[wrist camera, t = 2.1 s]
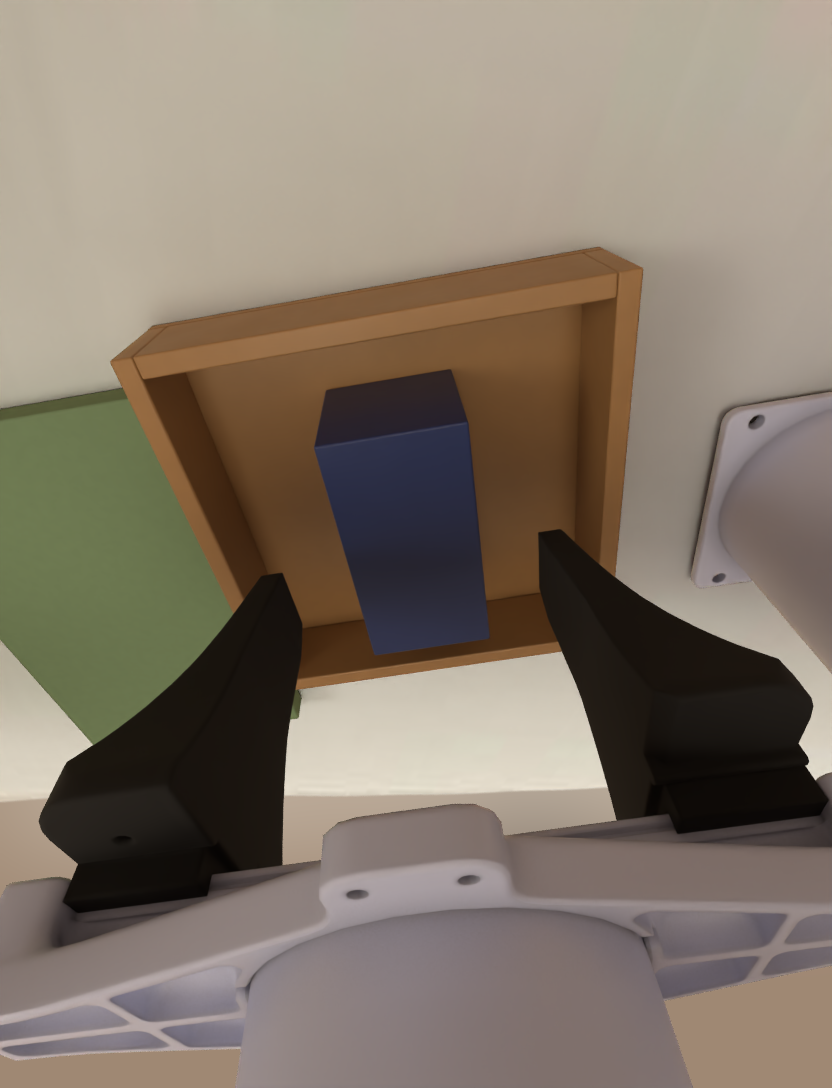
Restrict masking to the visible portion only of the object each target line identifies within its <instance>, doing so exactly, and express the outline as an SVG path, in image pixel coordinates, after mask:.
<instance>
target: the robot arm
mask: <svg viewBox="0 0 832 1088" xmlns="http://www.w3.org/2000/svg"><path fill="white" fill-rule="evenodd" d="M757 415H758V418H757V419H756V421H754V422H753V423H752V424H749V422H750V420H751V419H752V418H753V417H754V416H757ZM538 549H539V589H540V592H541V596H542V600H543V603H544V607H545V610H546V613H547V617H548V620H549V622H550V625H551V627H552V629H553V632H554V634H555V636H556V639H557V641H558V643H559V646H560V648H561V650H562V653H563V655H564V657H565V660H566V662H567V664H568V666H569V669H570V671H571V673H572V676H573V678H574V680H575V683H576V685H577V688H578V690H579V693H580V696H581V698H582V702H583V705H584V708H585V711H586V714H587V718H588V721H589V724H590V727H591V731H592V734H593V737H594V741H595V744H596V747H597V751H598V754H599V758H600V761H601V765H602V768H603V772H604V775H605V779H606V782H607V786H608V790H609V793H610V797H611V800H612V804H613V808H614V812H615V815H616V819H617V821H611V822H604V823H596V824H588V825H581V826H574V827H566V828H558V829H551V830H543V831H536V832H528V833H521V834H514V835H503V829H502V824H501V821H500V820H499V818H498V817H497V816H496V814H495V813H494V812H493V811H491V810H490V809H487V808H484V807H481V806H478V805H475V804H450V805H442V806H435V807H428V808H421V809H413V810H406V811H398V812H391V813H384V814H377V815H370V816H362V817H356V818H352V819H349V820H346V821H342V822H338V823H337V824H336V825H335V826H334V827H332V828H331V829H330V830H329V831H328V832H326V834H324V835H323V845H322V858H321V859H322V860H319V861H312V862H304V863H296V864H289V865H282V840H283V800H284V781H285V763H286V749H287V737H288V730H289V723H290V718H291V712H292V706H293V701H294V695H295V690H296V684H297V679H298V673H299V667H300V661H301V653H302V627H303V624H302V621H301V619H300V616H299V613H298V611H297V608H296V606H295V603H294V601H293V598H292V596H291V593H290V590H289V588H288V585H287V583H286V580H285V578H284V575H283V573H276V574H269V575H263V576H261V577H260V578H259V580H258V581H257V582H256V584H255V585H254V586H253V588H252V589H251V590H250V592H249V593H248V595H247V596H246V597H245V599H244V600H243V601H242V603H241V604H240V606H239V607H238V608H237V610H236V611H235V612H234V614H233V615H232V616H231V618H230V619H229V620H228V622H227V623H226V624H225V626H224V627H223V628H222V630H221V631H220V632H219V633H218V634H217V636H216V637H215V638H214V639H213V640H212V641H211V643H210V644H209V645H208V646H207V647H206V649H205V650H204V651H203V652H202V653H201V654H200V656H199V657H198V658H197V659H196V660H195V661H194V662H193V663H192V664H191V665H190V666H189V667H188V668H187V669H186V670H185V671H184V672H183V673H182V674H181V675H180V676H179V677H178V678H177V679H176V680H175V681H174V682H173V683H172V684H171V685H170V686H169V687H168V688H166V689H165V690H164V691H163V692H162V693H161V694H160V695H158V696H157V697H156V698H155V699H154V700H153V701H152V702H150V703H149V704H148V705H147V706H146V707H145V708H143V709H142V710H141V711H140V712H138V713H137V714H136V715H135V716H133V717H132V718H131V719H129V720H128V721H127V722H125V723H124V724H123V725H121V726H120V727H119V728H117V729H116V730H115V731H113V732H112V733H110V734H109V735H108V736H106V737H105V738H103V739H102V740H100V741H99V742H97V743H96V744H94V745H93V746H91V747H90V748H88V749H87V750H85V751H83V752H82V753H80V754H79V755H77V756H76V757H74V758H73V759H71V760H69V761H68V762H67V763H66V765H65V766H64V768H63V770H62V772H61V774H60V776H59V778H58V780H57V782H56V784H55V786H54V788H53V790H52V792H51V794H50V796H49V798H48V800H47V802H46V804H45V806H44V808H43V810H42V812H41V815H40V818H39V824H40V827H41V830H42V832H43V833H44V834H45V835H46V837H47V838H48V839H49V840H50V841H52V842H53V843H54V844H55V845H56V846H57V847H58V848H60V849H61V850H62V851H63V852H64V853H66V854H67V855H68V856H69V857H71V858H72V859H73V860H74V861H75V862H76V863H78V866H77V868H76V871H75V873H74V875H73V878H72V880H70V879H67V878H62V877H51V878H43V879H36V880H29V881H21V882H14V883H10V884H9V885H7V886H6V888H5V890H4V892H3V894H2V896H1V898H0V1055H2V1056H5V1057H8V1058H10V1059H13V1060H17V1061H18V1060H27V1059H37V1058H47V1057H56V1056H68V1055H81V1054H94V1053H95V1054H96V1053H115V1052H137V1051H138V1052H139V1051H140V1052H141V1051H176V1050H208V1049H209V1050H212V1049H241V1052H240V1059H239V1066H238V1073H237V1079H236V1086H235V1088H693V1086H692V1083H691V1080H690V1077H689V1074H688V1072H687V1069H686V1066H685V1062H684V1060H683V1057H682V1054H681V1051H680V1048H679V1045H678V1042H677V1039H676V1036H675V1033H674V1030H673V1027H672V1024H671V1021H670V1018H669V1015H668V1012H667V1009H666V1006H665V1003H664V1001H666V1000H670V999H675V998H680V997H685V996H690V995H694V994H699V993H703V992H708V991H713V990H718V989H722V988H727V987H731V986H737V985H741V984H746V983H750V982H755V981H760V980H764V979H769V978H774V977H778V976H783V975H788V974H792V973H797V972H802V971H807V970H812V969H817V968H822V967H827V966H832V772H831V773H827V774H825V775H823V776H821V777H819V778H817V779H816V780H815V779H814V778H813V776H812V775H811V774H810V772H809V771H808V769H807V768H806V766H805V765H808V763H809V759H808V756H807V755H806V754H805V752H804V751H803V749H802V748H801V746H800V745H799V744H798V743H799V741H800V739H801V737H802V735H803V733H804V731H805V728H806V726H807V724H808V722H809V720H810V717H811V714H812V710H813V703H812V699H811V697H810V695H809V694H808V693H807V692H806V690H805V689H804V688H803V686H802V685H801V684H800V682H799V681H798V680H797V679H796V677H795V676H794V675H793V674H792V673H791V672H790V671H789V670H788V669H787V668H786V666H785V665H784V664H783V663H782V662H781V661H780V660H779V659H777V658H774V657H771V656H768V655H765V654H762V653H760V652H757V651H754V650H751V649H748V648H745V647H742V646H739V645H737V644H734V643H732V642H729V641H727V640H724V639H722V638H719V637H717V636H715V635H712V634H710V633H708V632H706V631H703V630H701V629H699V628H697V627H695V626H693V625H691V624H689V623H687V622H685V621H683V620H681V619H679V618H677V617H675V616H673V615H671V614H670V613H668V612H666V611H664V610H663V609H661V608H659V607H658V606H656V605H654V604H653V603H651V602H649V601H648V600H646V599H645V598H643V597H641V596H640V595H639V594H637V593H636V592H634V591H633V590H631V589H630V588H629V587H627V586H626V585H625V584H623V583H622V582H621V581H619V580H618V579H617V578H616V577H614V576H613V575H612V574H611V573H609V572H608V571H607V570H606V569H605V568H603V567H602V566H601V565H600V564H599V563H597V562H596V561H595V560H594V559H593V558H592V557H590V556H589V555H588V554H587V553H586V552H585V551H584V550H583V549H582V548H581V547H580V546H578V545H577V544H576V543H575V542H574V541H573V540H572V539H571V538H570V537H569V536H568V535H567V534H566V533H565V532H564V531H562V530H561V529H556V530H550V531H544V532H538ZM716 574H718V575H717V576H715V575H716ZM691 581H692V582H693V583H694V585H695V586H696V587H698V588H708V587H715V586H721V585H728V584H735V583H742V582H748V581H753V582H754V583H755V584H756V586H757V587H758V588H759V589H760V590H761V591H762V593H763V594H764V595H765V596H766V597H767V598H768V600H769V601H770V602H771V603H772V604H773V605H774V607H775V608H776V609H777V610H778V611H779V613H780V614H781V615H782V616H783V617H784V618H785V620H786V621H787V622H788V623H789V624H790V625H791V627H792V628H793V629H794V630H795V631H796V632H797V634H798V635H799V636H800V637H801V638H802V640H803V641H804V642H805V643H806V644H807V645H808V647H809V648H810V649H811V650H812V651H813V652H814V654H815V655H816V656H817V657H818V658H819V659H820V661H821V662H822V663H823V664H824V665H825V667H826V668H827V669H828V670H829V671H830V672H831V674H832V392H827V393H821V394H814V395H808V396H802V397H796V398H790V399H784V400H777V401H771V402H765V403H759V404H753V405H747V406H741V407H737V408H734V409H732V410H731V411H729V412H728V413H727V414H726V415H725V416H724V418H723V420H722V423H721V428H720V433H719V438H718V443H717V448H716V453H715V458H714V463H713V468H712V473H711V477H710V482H709V487H708V492H707V497H706V502H705V507H704V512H703V517H702V522H701V527H700V532H699V537H698V542H697V547H696V552H695V557H694V562H693V567H692V572H691Z"/></svg>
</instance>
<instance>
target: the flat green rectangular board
mask: <svg viewBox="0 0 832 1088" xmlns="http://www.w3.org/2000/svg"><path fill="white" fill-rule="evenodd" d="M232 615H233V612H232V610H231V608H230V606H229V604H228V602H227V600H226V597H225V595H224V593H223V591H222V589H221V587H220V585H219V583H218V581H217V579H216V577H215V575H214V573H213V571H212V569H211V567H210V565H209V563H208V561H207V559H206V557H205V555H204V553H203V551H202V549H201V547H200V545H199V542H198V540H197V538H196V536H195V534H194V532H193V530H192V528H191V526H190V524H189V522H188V520H187V518H186V516H185V514H184V512H183V510H182V508H181V506H180V504H179V502H178V500H177V498H176V496H175V494H174V492H173V490H172V487H171V485H170V483H169V481H168V479H167V477H166V475H165V473H164V471H163V469H162V467H161V465H160V463H159V461H158V459H157V457H156V455H155V453H154V451H153V449H152V447H151V445H150V443H149V441H148V439H147V437H146V435H145V432H144V430H143V428H142V426H141V424H140V422H139V420H138V418H137V416H136V414H135V412H134V410H133V408H132V406H131V404H130V402H129V400H128V398H127V396H126V394H125V392H124V390H123V388H122V389H116V390H111V391H105V392H99V393H93V394H87V395H82V396H76V397H70V398H64V399H58V400H53V401H47V402H41V403H35V404H29V405H24V406H18V407H12V408H6V409H0V640H1V641H2V642H3V643H4V644H5V646H6V647H7V648H8V649H9V650H10V651H11V652H12V653H13V655H14V656H15V657H16V658H17V659H18V660H19V661H20V662H21V664H22V665H23V666H24V667H25V668H26V669H27V670H28V672H29V673H30V674H31V675H32V676H33V677H34V678H35V679H36V681H37V682H38V683H39V684H40V685H41V686H42V687H43V688H44V690H45V691H46V692H47V693H48V694H49V695H50V696H51V698H52V699H53V700H54V701H55V702H56V703H57V704H58V705H59V707H60V708H61V709H62V710H63V711H64V712H65V713H66V714H67V716H68V717H69V718H70V719H71V720H72V721H73V722H74V723H75V725H76V726H77V727H78V728H79V729H80V730H81V731H82V733H83V734H84V735H85V736H86V737H87V738H88V739H89V740H90V742H91V743H92V744H93V745H94V744H96V743H97V742H99V741H100V740H102V739H103V738H105V737H106V736H108V735H109V734H110V733H112V732H113V731H115V730H116V729H117V728H119V727H120V726H121V725H123V724H124V723H125V722H127V721H128V720H129V719H131V718H132V717H133V716H135V715H136V714H137V713H138V712H140V711H141V710H142V709H143V708H145V707H146V706H147V705H148V704H149V703H150V702H152V701H153V700H154V699H155V698H156V697H157V696H158V695H160V694H161V693H162V692H163V691H164V690H165V689H166V688H168V687H169V686H170V685H171V684H172V683H173V682H174V681H175V680H176V679H177V678H178V677H179V676H180V675H181V674H182V673H183V672H184V671H185V670H186V669H187V668H188V667H189V666H190V665H191V664H192V663H193V662H194V661H195V660H196V659H197V658H198V657H199V656H200V654H201V653H202V652H203V651H204V650H205V649H206V647H207V646H208V645H209V644H210V643H211V641H212V640H213V639H214V638H215V637H216V636H217V634H218V633H219V632H220V631H221V630H222V628H223V627H224V626H225V624H226V623H227V622H228V620H229V619H230V618H231V616H232ZM300 704H301V697H300V694H299V692H298V690H295V695H294V701H293V706H292V712H291V718H290V719H297V718H298V717H299V711H300Z"/></svg>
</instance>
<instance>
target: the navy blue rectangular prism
mask: <svg viewBox="0 0 832 1088" xmlns="http://www.w3.org/2000/svg"><path fill="white" fill-rule="evenodd" d="M314 451H315V454H316V457H317V461H318V464H319V468H320V471H321V475H322V478H323V481H324V485H325V488H326V492H327V495H328V498H329V502H330V505H331V509H332V512H333V516H334V519H335V522H336V526H337V529H338V533H339V536H340V539H341V543H342V546H343V550H344V553H345V557H346V560H347V563H348V567H349V570H350V574H351V577H352V580H353V584H354V587H355V591H356V594H357V598H358V601H359V604H360V608H361V611H362V615H363V618H364V621H365V625H366V628H367V632H368V635H369V639H370V642H371V645H372V649H373V652H374V655H382V654H389V653H395V652H402V651H409V650H416V649H423V648H429V647H436V646H443V645H450V644H457V643H464V642H470V641H477V640H484V639H489V638H490V633H489V623H488V613H487V603H486V593H485V583H484V573H483V563H482V553H481V543H480V532H479V522H478V512H477V502H476V492H475V482H474V472H473V462H472V452H471V442H470V432H469V423H468V419H467V416H466V413H465V410H464V407H463V404H462V401H461V398H460V395H459V392H458V388H457V385H456V382H455V379H454V376H453V373H452V370H451V369H448V370H442V371H436V372H430V373H424V374H419V375H413V376H407V377H401V378H395V379H389V380H383V381H377V382H371V383H365V384H360V385H354V386H348V387H342V388H336V389H330V390H326V392H325V397H324V402H323V406H322V411H321V416H320V421H319V426H318V430H317V435H316V440H315V445H314Z"/></svg>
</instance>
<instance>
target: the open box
mask: <svg viewBox="0 0 832 1088" xmlns="http://www.w3.org/2000/svg"><path fill="white" fill-rule="evenodd" d="M642 277H643V268H642V267H640V266H638V265H636V264H634V263H631V262H629V261H627V260H625V259H623V258H621V257H619V256H617V255H615V254H613V253H611V252H608V251H606V250H604V249H603V248H601V247H596V248H590V249H585V250H579V251H573V252H568V253H562V254H556V255H551V256H545V257H540V258H534V259H528V260H523V261H517V262H511V263H506V264H500V265H494V266H489V267H483V268H478V269H472V270H466V271H461V272H455V273H449V274H444V275H438V276H432V277H427V278H421V279H416V280H410V281H404V282H399V283H393V284H387V285H382V286H376V287H370V288H365V289H359V290H354V291H348V292H342V293H337V294H331V295H325V296H320V297H314V298H308V299H303V300H297V301H292V302H286V303H280V304H275V305H269V306H263V307H258V308H252V309H246V310H241V311H235V312H230V313H224V314H218V315H213V316H207V317H201V318H196V319H190V320H184V321H179V322H173V323H168V324H162V325H156V326H152V327H151V328H150V329H148V331H147V332H145V333H144V334H143V335H142V336H140V337H139V338H138V339H137V340H136V341H134V342H133V343H132V344H131V345H129V346H128V347H127V348H126V349H125V350H123V351H122V352H121V353H120V354H119V355H117V356H116V357H115V358H114V359H112V360H111V365H112V367H113V369H114V371H115V373H116V375H117V377H118V379H119V382H120V384H121V386H122V388H123V390H124V392H125V394H126V396H127V398H128V400H129V402H130V404H131V406H132V408H133V410H134V412H135V414H136V416H137V418H138V420H139V422H140V424H141V426H142V428H143V430H144V432H145V435H146V437H147V439H148V441H149V443H150V445H151V447H152V449H153V451H154V453H155V455H156V457H157V459H158V461H159V463H160V465H161V467H162V469H163V471H164V473H165V475H166V477H167V479H168V481H169V483H170V485H171V487H172V490H173V492H174V494H175V496H176V498H177V500H178V502H179V504H180V506H181V508H182V510H183V512H184V514H185V516H186V518H187V520H188V522H189V524H190V526H191V528H192V530H193V532H194V534H195V536H196V538H197V540H198V542H199V545H200V547H201V549H202V551H203V553H204V555H205V557H206V559H207V561H208V563H209V565H210V567H211V569H212V571H213V573H214V575H215V577H216V579H217V581H218V583H219V585H220V587H221V589H222V591H223V593H224V595H225V597H226V600H227V602H228V604H229V606H230V608H231V610H232V612H233V614H234V612H235V611H236V610H237V608H238V607H239V606H240V604H241V603H242V601H243V600H244V599H245V597H246V596H247V595H248V593H249V592H250V590H251V589H252V588H253V586H254V585H255V584H256V582H257V581H258V580H259V578H260V577H261V576H263V575H269V574H276V573H283V575H284V578H285V580H286V583H287V585H288V588H289V590H290V593H291V596H292V598H293V601H294V603H295V606H296V608H297V611H298V613H299V616H300V619H301V621H302V624H303V627H302V653H301V661H300V667H299V673H298V679H297V684H296V690H299V689H306V688H312V687H319V686H326V685H333V684H340V683H347V682H354V681H361V680H368V679H375V678H382V677H388V676H395V675H402V674H409V673H416V672H423V671H430V670H437V669H444V668H451V667H457V666H464V665H471V664H478V663H485V662H492V661H499V660H506V659H513V658H520V657H527V656H533V655H540V654H547V653H554V652H561V651H562V650H561V648H560V646H559V643H558V641H557V639H556V636H555V634H554V632H553V629H552V627H551V625H550V622H549V620H548V617H547V613H546V610H545V607H544V603H543V600H542V596H541V592H540V589H539V549H538V532H544V531H550V530H556V529H561V530H562V531H564V532H565V533H566V534H567V535H568V536H569V537H570V538H571V539H572V540H573V541H574V542H575V543H576V544H577V545H578V546H580V547H581V548H582V549H583V550H584V551H585V552H586V553H587V554H588V555H589V556H590V557H592V558H593V559H594V560H595V561H596V562H597V563H599V564H600V565H601V566H602V567H603V568H605V569H606V570H607V571H608V572H609V573H611V574H612V575H613V576H614V577H615V572H616V561H617V550H618V540H619V529H620V518H621V507H622V496H623V485H624V474H625V463H626V452H627V441H628V430H629V419H630V408H631V397H632V386H633V376H634V365H635V354H636V343H637V332H638V321H639V310H640V299H641V288H642ZM448 369H451V370H452V373H453V376H454V379H455V382H456V385H457V388H458V392H459V395H460V398H461V401H462V404H463V407H464V410H465V413H466V416H467V419H468V423H469V432H470V442H471V452H472V462H473V472H474V482H475V492H476V502H477V512H478V522H479V532H480V543H481V553H482V563H483V573H484V583H485V593H486V603H487V613H488V623H489V633H490V638H489V639H484V640H477V641H470V642H464V643H457V644H450V645H443V646H436V647H429V648H423V649H416V650H409V651H402V652H395V653H389V654H382V655H374V652H373V649H372V645H371V642H370V639H369V635H368V632H367V628H366V625H365V621H364V618H363V615H362V611H361V608H360V604H359V601H358V598H357V594H356V591H355V587H354V584H353V580H352V577H351V574H350V570H349V567H348V563H347V560H346V557H345V553H344V550H343V546H342V543H341V539H340V536H339V533H338V529H337V526H336V522H335V519H334V516H333V512H332V509H331V505H330V502H329V498H328V495H327V492H326V488H325V485H324V481H323V478H322V475H321V471H320V468H319V464H318V461H317V457H316V454H315V451H314V445H315V440H316V435H317V430H318V426H319V421H320V416H321V411H322V406H323V402H324V397H325V392H326V390H330V389H336V388H342V387H348V386H354V385H360V384H365V383H371V382H377V381H383V380H389V379H395V378H401V377H407V376H413V375H419V374H424V373H430V372H436V371H442V370H448Z"/></svg>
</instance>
